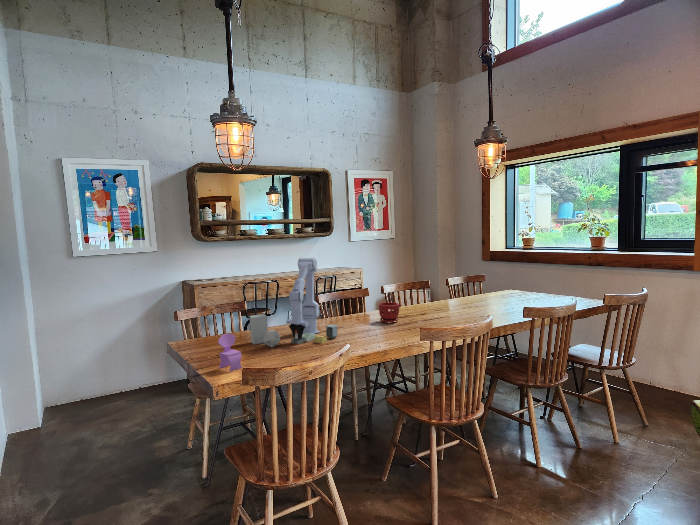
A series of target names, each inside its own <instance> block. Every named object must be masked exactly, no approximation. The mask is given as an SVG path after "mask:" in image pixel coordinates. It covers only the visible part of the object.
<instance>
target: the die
mask: <svg viewBox="0 0 700 525" xmlns="http://www.w3.org/2000/svg"><path fill="white" fill-rule="evenodd" d="M263 342H264V343H263V344H265V345H266V346H267V347H270V348H275V347H277V345H278V344H279V343H280V342H281V334H280V333H279V332H278V331H277V330H274V329H270V330H268V331H267V332H266V333H265V335H264V336H263Z"/></svg>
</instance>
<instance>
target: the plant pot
mask: <svg viewBox="0 0 700 525" xmlns="http://www.w3.org/2000/svg"><path fill="white" fill-rule="evenodd" d="M378 312H379V316H380V319H379V321H380V322H381V321H383V322H394V321H397V322H398V321H399V314H400V303H398V302H389V301H388V302H380V303H379V304H378ZM382 319H383V320H382ZM396 319H397V320H396ZM383 322H382V323H383Z"/></svg>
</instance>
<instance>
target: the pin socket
mask: <svg viewBox="0 0 700 525" xmlns="http://www.w3.org/2000/svg"><path fill="white" fill-rule="evenodd" d="M290 343H291V344H295V345H299V344H302V343H306V342H305V341H304V338H301V339H300V340H295V338H294V337H293V338H291V339H290Z"/></svg>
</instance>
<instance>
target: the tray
mask: <svg viewBox="0 0 700 525" xmlns="http://www.w3.org/2000/svg"><path fill="white" fill-rule="evenodd" d="M315 336H317V334H316V333H315V334H309V333H303V334H302V338H304V341H305V342H304V343H309V342H311V341H315Z"/></svg>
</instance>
